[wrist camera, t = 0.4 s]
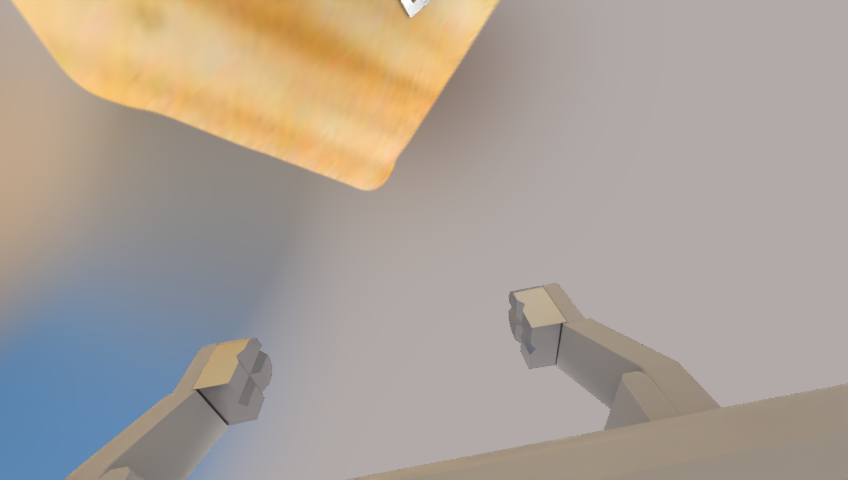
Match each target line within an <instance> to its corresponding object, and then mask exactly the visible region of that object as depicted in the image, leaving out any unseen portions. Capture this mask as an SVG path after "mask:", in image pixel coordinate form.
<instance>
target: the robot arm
mask: <svg viewBox="0 0 848 480" xmlns="http://www.w3.org/2000/svg"><path fill="white" fill-rule="evenodd" d="M509 302H510V304H511V306H512V307H511V309H510V310H509V321H510V327H511V330H512V333H513V335H514V338H515V340H517V341H519V342H520V343H521V353H522V355H523V357H524V359H525V362H526V364H527V366H528V368H529V369H532V368H539V367H545V366H552V365H556V366H557V367H558V368H559V369H561V370H562V371H563V372H564V373H566V374H567V375H568V376H569V377H571V378H572V379H573V380H575V381H576V382H577V383H578V384H580V385H581V386H582V387H583V388H585V389H586V390H587V391H588V392H590V393H591V394H592V395H593V396H595V397H596V398H597V399H598V400H600V401H601V402H602V403H604V404H605V405H606V406H608V407H609V408H610V409H611V410H610V414H609V416H608V419H607V422H606V425H605V428H604V430H603V431H598V432H592V433H587V434H582V435H577V436H571V437H567V438H561V439H556V440H551V441H545V442H540V443H535V444H530V445H525V446H519V447H515V448H509V449H504V450H498V451H494V452H488V453H483V454H477V455H472V456H467V457H462V458H456V459H451V460H446V461H441V462H435V463H431V464H425V465H420V466H414V467H409V468H404V469H399V470H393V471H389V472H383V473H378V474H373V475H368V476H362V477H357V478H352V479H347V480H848V383H847V384H842V385H837V386H832V387H827V388H822V389H816V390H812V391H806V392H801V393H795V394H790V395H785V396H780V397H775V398H769V399H764V400H759V401H754V402H748V403H743V404H738V405H733V406H728V407H722V408H721V407H720V406H719V405H718V404H717V402H716V401H715V400H714V399H713V398H712V397H711V396H710V395H709V394H708V393H707V392H706V391H705V390H704V389H703V388H702V387H701V386H700V385H699V383H698V382H696V380H695V379H694V378H693V377H692V376H691V375H690V374H689V373H688V372H687V371H686V370H685V369H684V368H683V367H682V365H681V364H680V363H678V362H677V361H675V360H673V359H671V358H669V357H667V356H665V355H663V354H661V353H659V352H657V351H655V350H653V349H651V348H649V347H647V346H644V345H643V344H640V343H638V342H637V341H635V340H633V339H631V338H629V337H626V336H625V335H623V334H621V333H619V332H616V331H615V330H613V329H611V328H609V327H607V326H605V325H602V324H601V323H598V322H596V321H595V320H593V319H585V318H584V316H583V315H582V314H581V313H580V311H579V310H578V309H577V307H576V306H575V305H574V303H573V302H572V301H571V299H570V298H569V297H568V295H567V294H566V293H565V292H564V290H563V289H562V288H561V286H560V285H559V284H557V283H553V284H548V285H542V286H538V287H532V288H527V289H522V290H516V291H512V292H510V294H509ZM260 348H261V343H260V342H259V341H258V339H257V338H248V339H241V340H236V341H229V342H222V343H217V344H211V345H205V346H204V347H202V348H201V349H200V350H199V351H198V353H197V355H196V356H195V358H194V359H193V361H192V363H191V364H190V366H189V367H188V369H187V371H186V372H185V374H184V376H183V377H182V379H181V381H180V382H179V384H178V385H177V387H176V389H175V390H174V392H173V393H172V394H171V395H167V396H165V397H164V398H163V399H161V400H160V401H159V402H158V403H157V404H155V405H154V406H153V407H152V408H151V409H149V410H148V411H147V412H146V413H144V414H143V415H142V416H141V417H139V418H138V419H137V420H136V421H134V422H133V423H132V424H131V425H130V426H129V427H127V428H126V429H125V430H123V431H122V432H121V433H120V434H119V435H118V436H116V437H115V438H114V439H112V440H111V441H110V442H109V443H107V444H106V445H105V446H104V447H103V448H101V449H100V450H99V451H98V452H96V453H95V454H94V455H93V456H92V457H90V458H89V459H88V460H87V461H85V462H84V463H83V464H82V465H80V466H79V467H78V468H77V469H76V470H74V471H73V472H72V473H71V474H70V475H68V476H67V478H66V479H65V480H186V478H187V477H188V476H189V475H190V474H191V472H192V471H193V470H194V469H195V467H196V466H197V465H198V464H199V462H200V461H201V460H202V459H203V458H204V456H205V455H206V454H207V453H208V451H209V450H210V449H211V448H212V447H213V446H214V444H215V443H216V442H217V441H218V439H219V438H220V437H221V436H222V435H223V433H224V432H225V431H226V429H227V428H228V425H233V424H237V423H242V422H246V421H252V420H256V419H257V418H258V415H259V412H260V409H261V406H262V403H263V400H264V396H263V394H262V391H263V390H264V389H265V388H266V387H267V386H268V385H269V383H270V380H271V376H272V364H271V360H270V358H269V356H268V355H267V354H266V353H264V352H262V351H260Z"/></svg>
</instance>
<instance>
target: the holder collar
mask: <svg viewBox="0 0 848 480" xmlns="http://www.w3.org/2000/svg"><path fill="white" fill-rule="evenodd" d="M399 1H400V3H401V5H402V6H403V8H404V10H405V12H406V13H407V15H408V16H409V17H410V18H412V17H413V16H414V15H415V14H416V13H417V12H419V11H420V10H421V9H422V8H423V7H424V6H425V5H426V4H428V3H429V2H430V1H431V0H399Z"/></svg>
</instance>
